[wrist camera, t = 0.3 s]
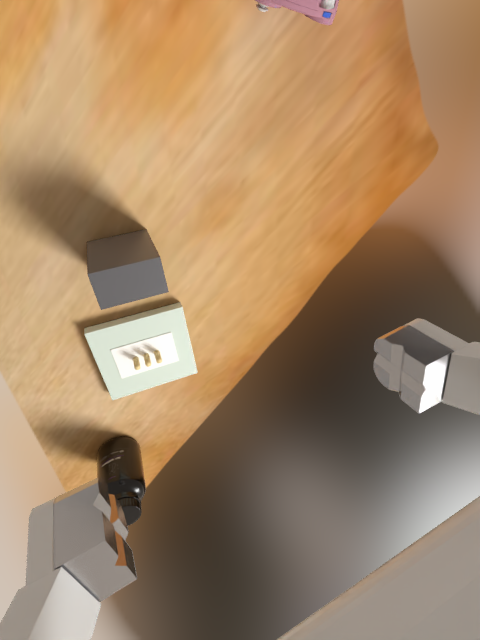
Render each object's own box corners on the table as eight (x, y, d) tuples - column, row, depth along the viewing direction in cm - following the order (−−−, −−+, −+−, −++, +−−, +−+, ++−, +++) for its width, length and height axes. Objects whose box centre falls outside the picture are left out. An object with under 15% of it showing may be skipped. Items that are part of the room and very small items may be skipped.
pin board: (84, 328, 47) (84, 343, 44) (180, 302, 50) (186, 314, 47) (111, 393, 54) (113, 410, 51) (195, 367, 57) (201, 381, 54)
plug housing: (87, 241, 42) (87, 274, 34) (146, 229, 44) (159, 256, 36) (98, 272, 44) (100, 309, 36) (154, 259, 46) (168, 291, 38)
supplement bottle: (109, 431, 57) (113, 497, 47) (147, 439, 61) (158, 502, 51) (88, 461, 59) (89, 531, 49) (126, 467, 62) (134, 534, 53)
